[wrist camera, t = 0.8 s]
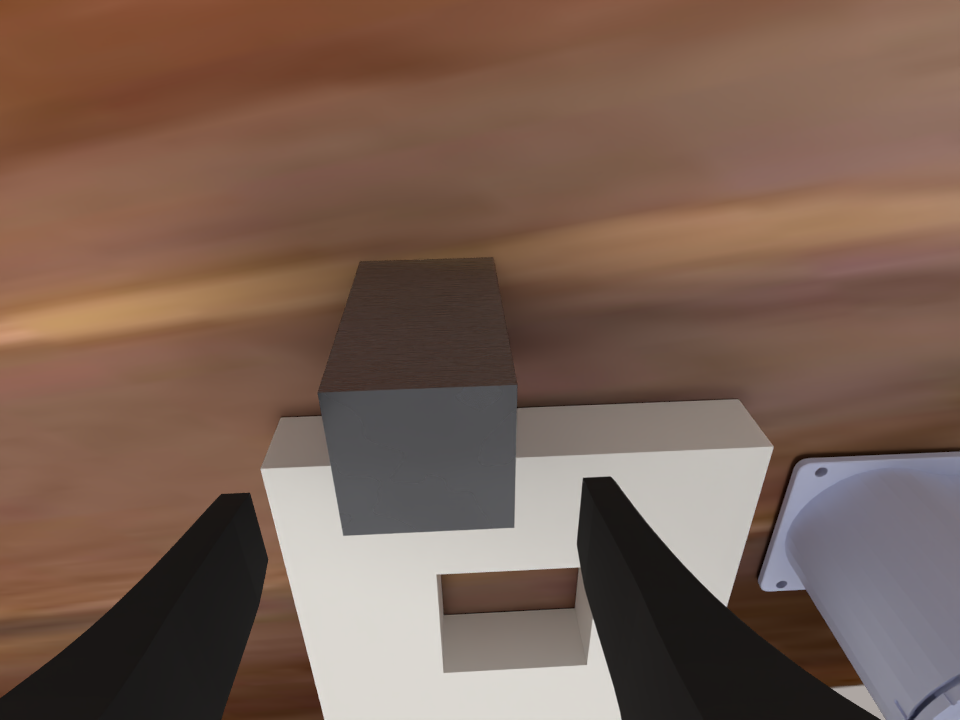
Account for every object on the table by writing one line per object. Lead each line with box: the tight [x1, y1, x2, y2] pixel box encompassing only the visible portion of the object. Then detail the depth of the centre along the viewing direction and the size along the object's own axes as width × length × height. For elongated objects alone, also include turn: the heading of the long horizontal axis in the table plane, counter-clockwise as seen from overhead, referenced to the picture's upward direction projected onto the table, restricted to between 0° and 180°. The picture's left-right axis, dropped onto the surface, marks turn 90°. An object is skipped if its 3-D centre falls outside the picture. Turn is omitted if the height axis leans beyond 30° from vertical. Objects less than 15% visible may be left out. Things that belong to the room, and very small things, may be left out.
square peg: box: [318, 257, 517, 536], centre depth 18 cm, size 4×4×8 cm
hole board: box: [261, 399, 774, 720], centre depth 27 cm, size 18×18×3 cm
